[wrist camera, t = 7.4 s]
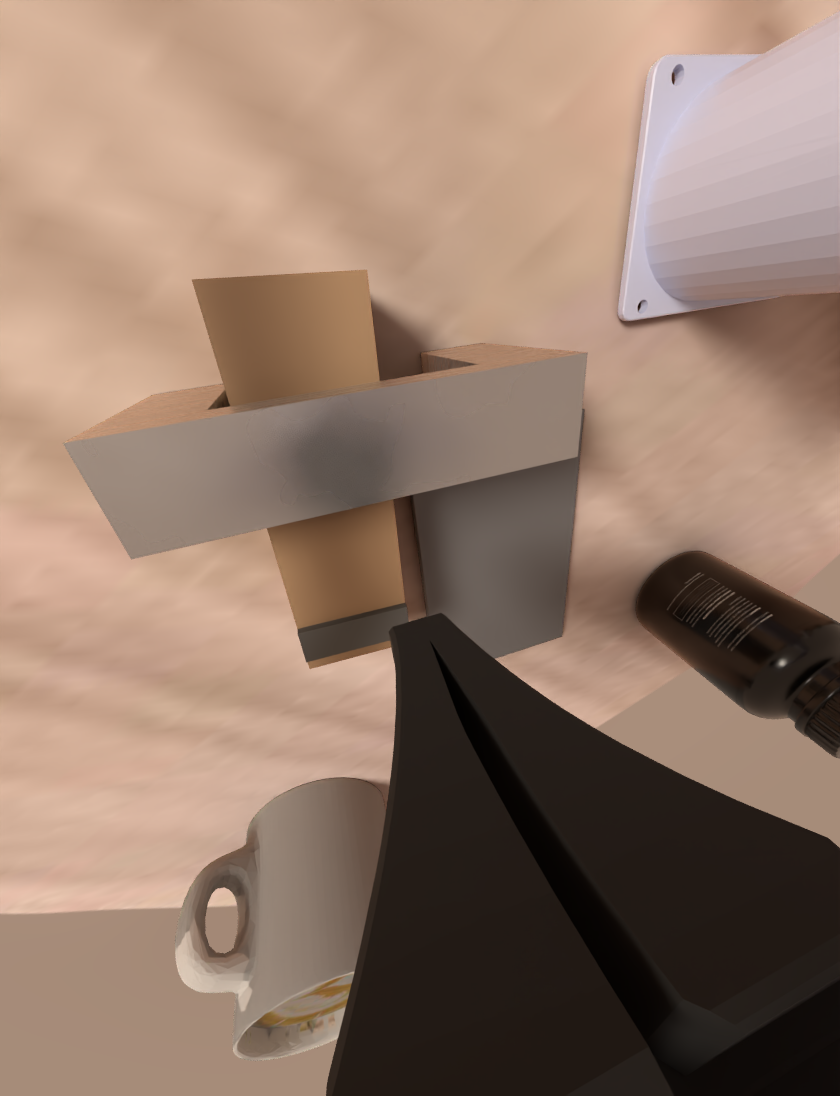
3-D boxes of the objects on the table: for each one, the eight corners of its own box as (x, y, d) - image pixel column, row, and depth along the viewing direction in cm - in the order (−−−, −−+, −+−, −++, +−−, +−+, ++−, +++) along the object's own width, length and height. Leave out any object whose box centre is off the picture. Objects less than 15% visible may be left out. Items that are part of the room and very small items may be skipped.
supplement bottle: (630, 638, 30) (800, 792, 20) (632, 571, 27) (841, 717, 17) (705, 603, 31) (905, 735, 21) (717, 532, 28) (966, 651, 18)
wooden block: (345, 283, 15) (368, 268, 11) (387, 587, 22) (411, 646, 18) (217, 292, 14) (189, 278, 10) (305, 607, 21) (309, 673, 17)
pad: (576, 407, 20) (584, 409, 19) (557, 630, 27) (562, 636, 27) (402, 442, 18) (406, 445, 17) (434, 670, 26) (437, 677, 25)
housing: (481, 343, 17) (587, 352, 11) (484, 414, 18) (577, 456, 13) (151, 395, 14) (63, 442, 9) (186, 473, 16) (131, 559, 10)
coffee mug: (408, 792, 32) (454, 959, 23) (330, 864, 33) (346, 1045, 25) (258, 752, 25) (245, 972, 16) (168, 846, 26) (115, 1090, 18)
